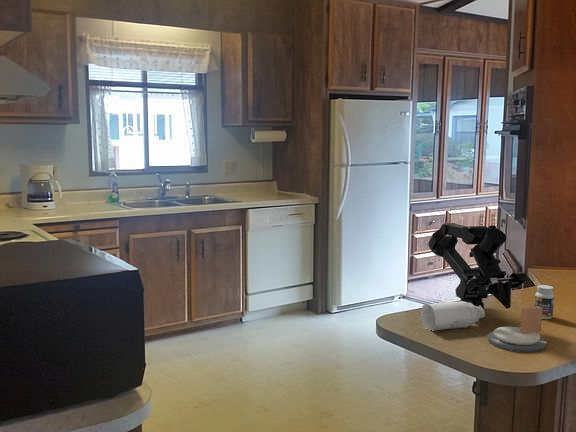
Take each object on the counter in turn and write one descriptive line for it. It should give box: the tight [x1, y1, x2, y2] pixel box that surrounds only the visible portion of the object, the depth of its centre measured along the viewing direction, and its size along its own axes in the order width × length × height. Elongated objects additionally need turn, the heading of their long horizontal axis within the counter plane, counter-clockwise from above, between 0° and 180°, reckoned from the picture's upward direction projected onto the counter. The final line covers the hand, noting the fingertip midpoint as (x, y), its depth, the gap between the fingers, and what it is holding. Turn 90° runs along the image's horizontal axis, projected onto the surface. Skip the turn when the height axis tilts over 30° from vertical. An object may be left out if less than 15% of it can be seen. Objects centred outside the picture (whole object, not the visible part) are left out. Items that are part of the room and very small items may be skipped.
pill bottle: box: [533, 284, 555, 320], centre depth 195 cm, size 6×6×10 cm
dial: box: [493, 306, 543, 345], centre depth 171 cm, size 14×12×8 cm
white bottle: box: [420, 301, 486, 332], centre depth 184 cm, size 8×19×8 cm, turn 108°
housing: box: [487, 331, 548, 353], centre depth 171 cm, size 15×15×1 cm
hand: (508, 307), depth 178 cm, fingers closed
